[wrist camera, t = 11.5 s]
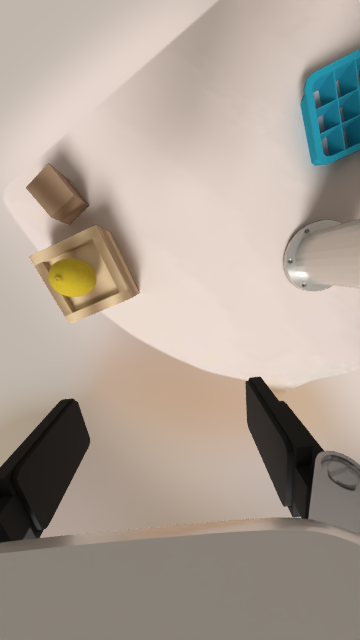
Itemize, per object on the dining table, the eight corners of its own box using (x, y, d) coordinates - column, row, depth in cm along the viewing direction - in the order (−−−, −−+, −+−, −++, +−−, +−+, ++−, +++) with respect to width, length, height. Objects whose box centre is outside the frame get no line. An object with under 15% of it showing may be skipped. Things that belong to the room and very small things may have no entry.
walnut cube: (68, 179, 31) (48, 163, 26) (89, 205, 32) (73, 194, 28) (48, 199, 32) (25, 187, 27) (69, 224, 33) (51, 217, 28)
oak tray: (110, 232, 33) (96, 224, 27) (139, 293, 36) (131, 297, 30) (54, 258, 35) (28, 256, 29) (87, 315, 38) (69, 324, 32)
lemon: (64, 266, 30) (25, 266, 23) (94, 254, 30) (65, 249, 22) (81, 297, 32) (49, 307, 24) (109, 286, 31) (87, 292, 23)
